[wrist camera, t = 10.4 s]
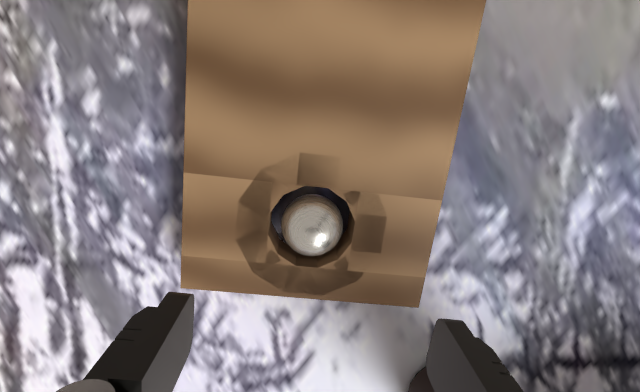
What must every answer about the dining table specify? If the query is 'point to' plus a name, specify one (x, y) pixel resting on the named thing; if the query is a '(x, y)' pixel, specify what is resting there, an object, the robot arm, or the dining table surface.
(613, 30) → the dining table surface
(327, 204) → the steel ball
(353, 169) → the board
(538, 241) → the dining table surface
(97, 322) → the dining table surface
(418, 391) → the bottle
